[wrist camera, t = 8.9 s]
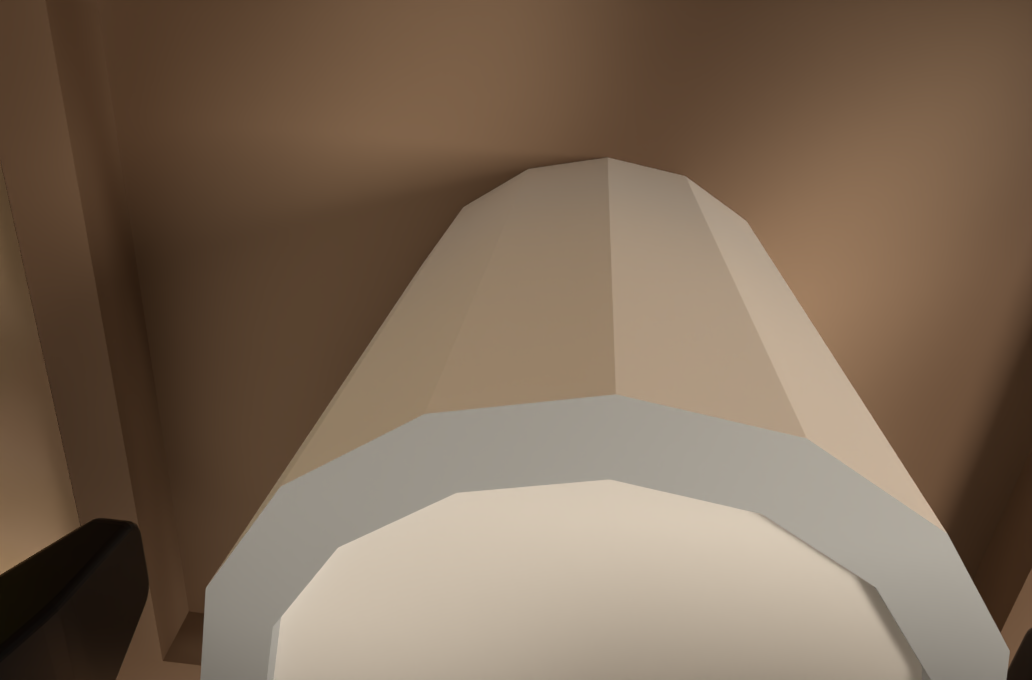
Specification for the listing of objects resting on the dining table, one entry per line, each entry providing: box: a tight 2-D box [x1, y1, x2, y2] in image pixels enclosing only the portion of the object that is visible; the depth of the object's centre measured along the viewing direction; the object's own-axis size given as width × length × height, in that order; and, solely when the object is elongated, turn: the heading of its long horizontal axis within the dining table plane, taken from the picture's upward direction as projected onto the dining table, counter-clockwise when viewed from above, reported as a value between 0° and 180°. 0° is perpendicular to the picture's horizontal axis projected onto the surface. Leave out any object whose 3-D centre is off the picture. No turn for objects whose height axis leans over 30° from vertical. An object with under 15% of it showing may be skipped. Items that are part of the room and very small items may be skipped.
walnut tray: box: [0, 0, 1032, 680], centre depth 14 cm, size 16×16×2 cm
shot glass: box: [200, 157, 1010, 680], centre depth 11 cm, size 7×7×7 cm
